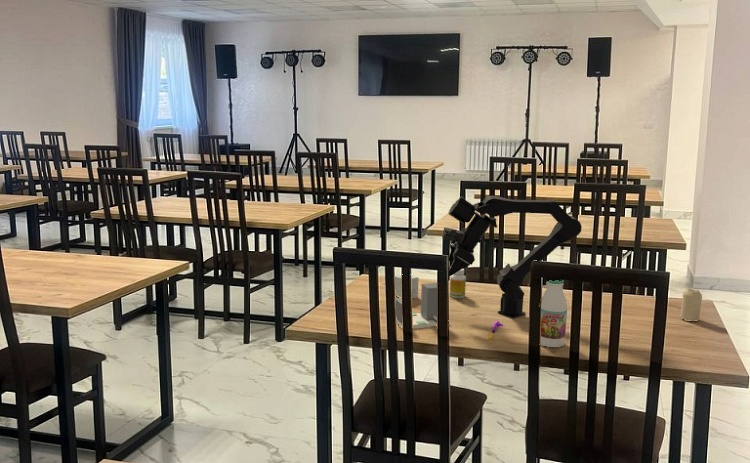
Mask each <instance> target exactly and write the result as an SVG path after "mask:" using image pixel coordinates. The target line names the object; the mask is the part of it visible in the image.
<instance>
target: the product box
mask: <svg viewBox="0 0 750 463" xmlns="http://www.w3.org/2000/svg"><path fill="white" fill-rule="evenodd" d="M401 275H402V274H400V275H399V274H398V275H394V281H395V289H396V296H397V295H398V296H400V297H401ZM410 275H411V276H412V299H417V298H418V297H419V276H415V275H413V274H410Z"/></svg>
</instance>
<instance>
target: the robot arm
mask: <svg viewBox="0 0 750 463" xmlns="http://www.w3.org/2000/svg"><path fill="white" fill-rule="evenodd" d="M509 214H549V215H550V216H552V217H553V219H554V220H555V221H556V223H555V225H554V226H553V229H552V230H551V232H550V234H549V235H548V236H547V237H545V238H544V239H543V240H542V241H541V242H539V244H538V245H536V246H535V247H534V248H533V249H532V250H531V251H530V252H528V254H527V255H526V256H524V257H523V258H521V259H520V261H519V262H517V263H516V264H514V265H511V264H510V263H507V264H506V265H505V266H504V268H502V269H501V270H498V272H499V273H498V275H497V276H496V283H497V285H498V286H499V289H500V291H502V292H503V293H502V294H501V297H500V307H499V308H500V310H498V311H497V313H498V314H500V315H503V316H506V317H510V318H513V319H514V318H518V317H521V316H525V315H526V312H525V311H523V310H524V309H523V308H524V297H525V292H524V290H523V289H522V287H521V284H523V282H524V280H525V278H526V276H527V275H528V274H529V273H530V272H531V271H530V263H531V261H533V260H537V261H541V262H542V261H543V260H544V259H546V258H547V257H548V256H549V255H550V254H551V253H552V252H554V251H555V250H556V249H557V248H558V247H560V245H562V244H565V243H567V242H569V241H571V240H573V239H574V238H576V237H577V236H579V235H580V234H581V233H582V223H581V222H580V221H579V220H578V219H577V218H576V217H574V216H572V215H569V214H568V213H567V212H566V211H565V210H564V209H563V208H562V207H561V206H560V204H559V203H558V201H556V200H554V199H544V200H543V199H538V200H537V199H535V200H534V199H511V198H510V199H509V198H506V197H502V196H496V195H488V196H486V197H484V199H483V200H482V201H479V202H477V203H474V204H472V203H471V202H469V201H468V200H466V199H465V197H463V196H460V197H459V198H458V199H456V201H455V202H454V203H452V205H451V206H450V209H449V210H448V215H449V216H451V218H454V219H456V221H458V222H460V223H462V224H463V225H464V224H465V223H466V224H467V223H469V224H468V225H467V227H463V228H462V230H459V229H454V228H450V227H444V228H443V232H442V235H441V238H442V240H444V241H449V244H448V245H449V248H450V252H449V255H448V257H449V261H450V267H449V268H448V271H449V276H448V277H450V276H451V275H453V274H455V273H456V272H458V271H460V270H461V269H465V268H466V267H469V266H470V265H473V264H474V262H475V261H476V259H475V254H474V253H475V248H476V247H477V245H478V244H480V243H481V242H482V241H483V240H482V238H483V236H484V235H485V234H486V232H487V231H488V229H489V228H490V226H491V227H494V228H496V229H497V228H498V225H497V219H496V217H501V216H506V215H509Z"/></svg>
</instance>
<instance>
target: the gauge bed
mask: <svg viewBox="0 0 750 463" xmlns="http://www.w3.org/2000/svg"><path fill="white" fill-rule="evenodd" d="M395 299H396V317H397V323H398V324H399V325H400V326H402V298H398V297H395V298H394V300H395ZM411 313H412V316H413V329H412V330H414V329H425V327H426V328H432V327H431V326H436V324H437V320H436V319H430V320H426V319H425V318H424V317H423V316H422V315H421V312H417V313H416V312H411ZM397 323H396V324H397ZM398 324H397V325H398ZM399 325H398V326H399ZM449 325H450V321H449ZM400 326H399V327H400Z"/></svg>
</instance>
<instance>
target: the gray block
mask: <svg viewBox="0 0 750 463" xmlns="http://www.w3.org/2000/svg"><path fill="white" fill-rule="evenodd" d="M437 283H438V282H430V283H421V289H420V290H421V296H420V313H421V315H422V316H423V317H424V318H425V319H426V320H430V319H436V320H437Z"/></svg>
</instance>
